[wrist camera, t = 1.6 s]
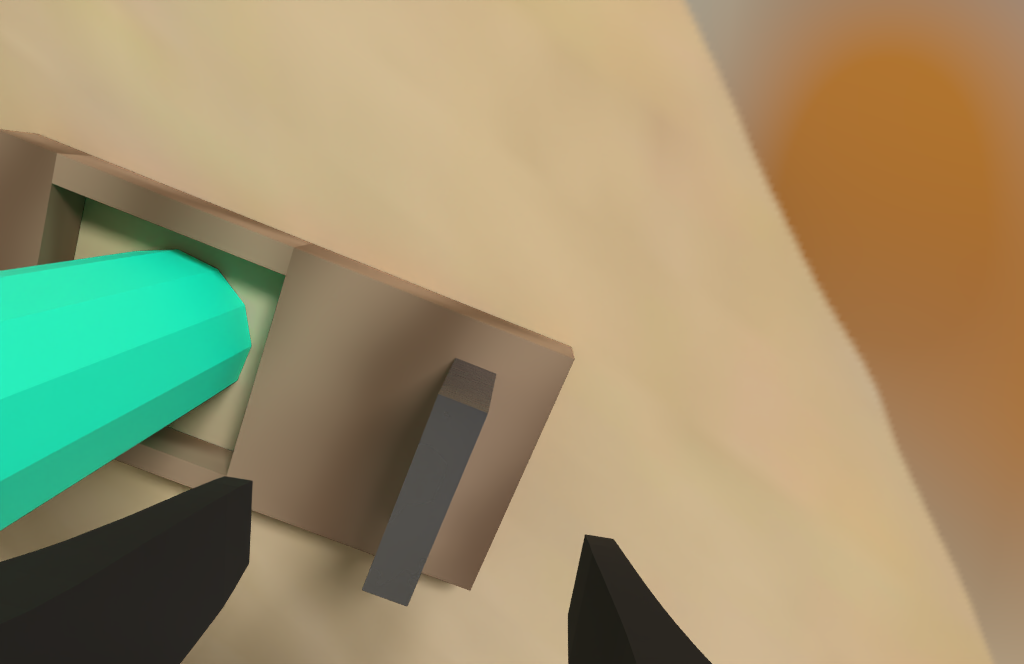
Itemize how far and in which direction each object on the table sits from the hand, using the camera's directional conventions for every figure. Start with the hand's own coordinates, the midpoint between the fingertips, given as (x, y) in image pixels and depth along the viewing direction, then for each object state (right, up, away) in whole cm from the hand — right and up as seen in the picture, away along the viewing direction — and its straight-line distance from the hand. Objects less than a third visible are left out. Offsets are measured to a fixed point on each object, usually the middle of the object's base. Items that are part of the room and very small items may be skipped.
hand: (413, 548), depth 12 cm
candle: (-11, +5, +9) cm, 15 cm away
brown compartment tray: (-7, +3, +9) cm, 12 cm away
